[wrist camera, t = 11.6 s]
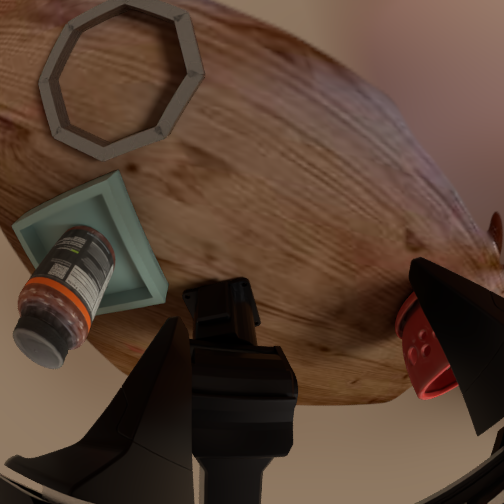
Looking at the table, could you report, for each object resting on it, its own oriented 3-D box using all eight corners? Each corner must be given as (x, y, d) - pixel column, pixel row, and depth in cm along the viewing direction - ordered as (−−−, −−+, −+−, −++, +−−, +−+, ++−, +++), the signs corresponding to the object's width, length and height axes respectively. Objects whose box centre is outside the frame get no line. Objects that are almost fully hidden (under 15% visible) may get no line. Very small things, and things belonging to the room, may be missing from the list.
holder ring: (217, 121, 18) (216, 123, 16) (76, 172, 18) (67, 178, 17) (181, -19, 11) (179, -26, 10) (41, 47, 11) (31, 46, 10)
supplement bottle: (77, 281, 23) (34, 375, 14) (52, 229, 20) (-14, 318, 10) (127, 274, 23) (91, 380, 14) (104, 216, 20) (38, 316, 10)
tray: (168, 284, 25) (164, 302, 23) (78, 303, 25) (70, 319, 23) (118, 169, 18) (106, 179, 16) (25, 212, 19) (11, 225, 17)
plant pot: (420, 256, 27) (481, 332, 17) (470, 273, 30) (516, 329, 20) (365, 336, 33) (399, 411, 23) (423, 336, 36) (455, 394, 26)
